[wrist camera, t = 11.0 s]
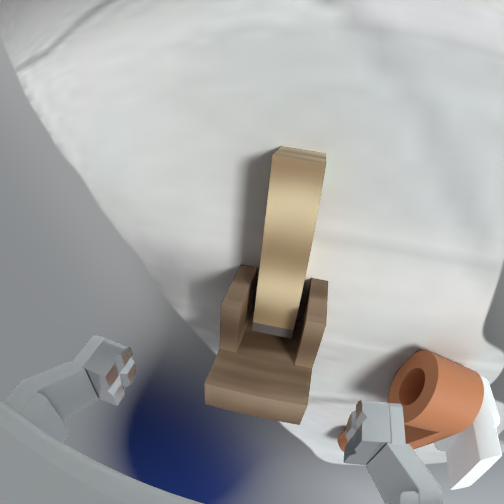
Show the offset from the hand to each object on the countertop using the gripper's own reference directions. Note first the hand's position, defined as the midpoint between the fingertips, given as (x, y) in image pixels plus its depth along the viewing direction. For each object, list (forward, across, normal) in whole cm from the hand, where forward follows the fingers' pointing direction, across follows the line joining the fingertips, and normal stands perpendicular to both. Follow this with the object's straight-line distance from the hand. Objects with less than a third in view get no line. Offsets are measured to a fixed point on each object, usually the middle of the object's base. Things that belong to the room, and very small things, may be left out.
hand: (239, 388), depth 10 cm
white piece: (+18, -26, +21) cm, 38 cm away
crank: (+18, -17, +22) cm, 33 cm away
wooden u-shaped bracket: (+18, 0, +11) cm, 21 cm away
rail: (+18, 0, +2) cm, 18 cm away
